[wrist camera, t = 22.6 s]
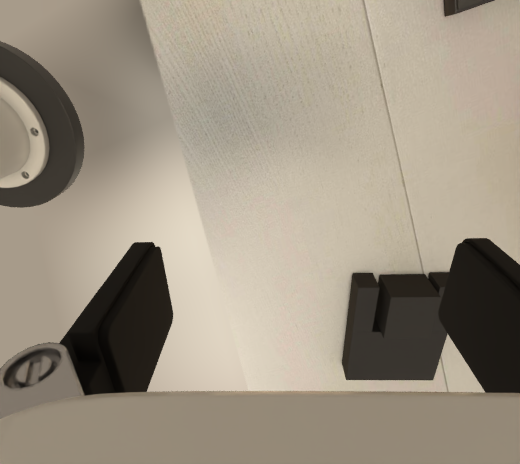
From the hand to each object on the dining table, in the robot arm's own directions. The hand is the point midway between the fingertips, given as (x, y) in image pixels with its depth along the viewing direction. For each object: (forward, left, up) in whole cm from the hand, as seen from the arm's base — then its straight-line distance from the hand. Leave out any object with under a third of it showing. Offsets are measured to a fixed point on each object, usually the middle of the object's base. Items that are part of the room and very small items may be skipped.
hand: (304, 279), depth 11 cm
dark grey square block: (+15, -21, -26) cm, 37 cm away
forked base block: (+15, -26, -26) cm, 40 cm away
